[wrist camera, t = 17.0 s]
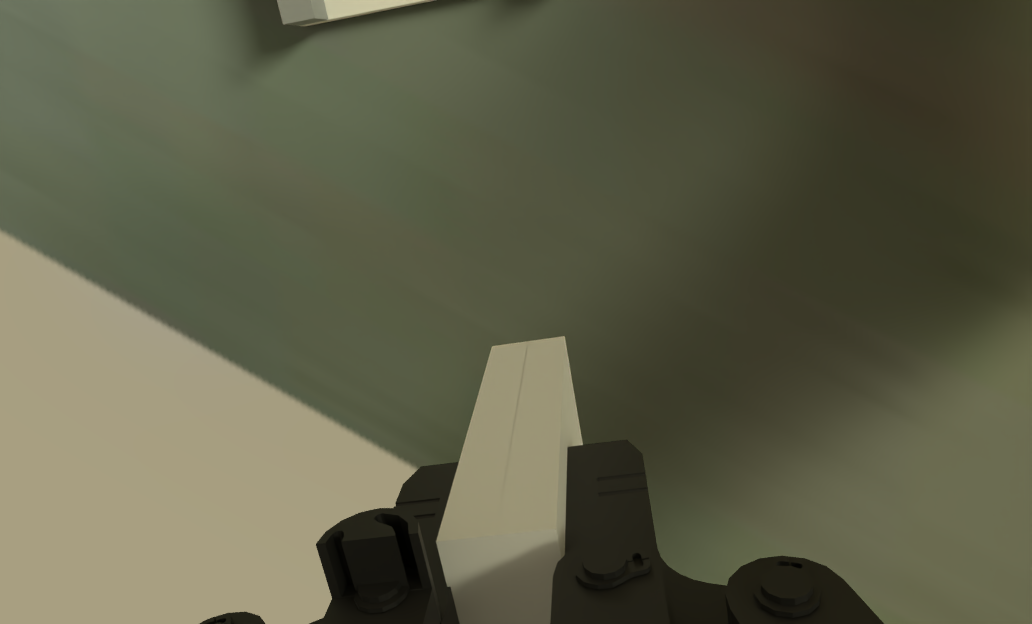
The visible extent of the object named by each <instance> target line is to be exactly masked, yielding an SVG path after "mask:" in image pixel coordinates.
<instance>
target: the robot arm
mask: <svg viewBox="0 0 1032 624" xmlns="http://www.w3.org/2000/svg"><path fill="white" fill-rule="evenodd" d="M316 546H317V550H318V553H319V556H320V559H321V563H322V566H323V570H324V573H325V576H326V579H327V582H328V586H329V589H330V593H331V596H332V600H331V603H330V605H329V607H328V609H327V612H326V614H325V616H324V618H322V619H319V620H317V621H315V622H312V623H310V624H884V623H883V622H882V621H881V620H880V619H879V618H878V617H877V615H876V614H875V613H874V612H873V611H872V610H871V609H870V608H869V607H868V606H867V605H866V603H865V602H864V601H863V600H862V599H861V598H860V597H859V596H858V595H857V594H856V593H855V591H854V590H853V589H852V588H851V587H850V586H849V585H848V584H847V583H846V582H845V581H844V579H842V578H841V577H840V576H838V575H837V574H836V573H834V572H833V571H832V570H830V569H829V568H828V567H827V566H824V565H821V564H818V563H816V562H813V561H810V560H808V559H805V558H796V557H788V556H776V557H768V558H760V559H757V560H755V561H753V562H750V563H748V564H746V565H743V566H741V567H740V568H739V569H738V570H737V571H736V572H735V573H734V574H733V575H732V576H731V577H730V578H729V581H728V584H727V586H725V585H718V584H710V583H706V582H701V581H696V580H693V579H690V578H688V577H685V576H683V575H681V574H679V573H677V572H676V571H674V570H673V569H671V568H670V567H669V566H668V565H667V564H666V563H665V562H664V561H663V559H662V558H661V557H660V554H659V551H658V549H657V544H656V538H655V531H654V525H653V519H652V513H651V506H650V500H649V494H648V488H647V481H646V476H645V469H644V463H643V456H642V453H641V452H640V451H638V450H637V449H636V448H635V447H634V446H633V445H632V444H631V443H630V442H629V441H628V440H620V441H612V442H604V443H595V444H587V445H583V443H582V437H581V431H580V425H579V419H578V413H577V407H576V401H575V395H574V389H573V383H572V377H571V371H570V365H569V359H568V353H567V347H566V341H565V336H562V337H555V338H548V339H540V340H533V341H526V342H519V343H512V344H504V345H497V346H492V348H491V352H490V355H489V359H488V362H487V366H486V369H485V373H484V376H483V380H482V383H481V387H480V390H479V394H478V397H477V401H476V404H475V408H474V411H473V415H472V418H471V422H470V425H469V429H468V432H467V435H466V439H465V442H464V446H463V449H462V453H461V456H460V460H459V462H455V463H447V464H439V465H430V466H422V467H420V468H419V469H418V470H417V471H416V472H415V473H414V474H413V475H412V476H411V477H410V478H409V479H408V480H407V481H406V482H405V483H404V484H403V486H402V488H401V491H400V493H399V496H398V498H397V501H396V507H394V508H379V509H374V510H370V511H365V512H361V513H358V514H356V515H354V516H351V517H349V518H347V519H344V520H342V521H340V522H339V523H338V524H336V525H335V526H333V527H332V528H331V529H329V530H328V531H326V532H325V534H324V535H323V536H322V537H321V539H320V540H319V541H318V542H317V544H316ZM200 624H265V623H264V621H263V620H262V619H261V617H260V616H258V615H255V614H251V613H248V612H235V613H226V614H223V615H220V616H217V617H213V618H210V619H207V620H205V621H203V622H202V623H200Z"/></svg>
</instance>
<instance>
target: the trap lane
mask: <svg viewBox="0 0 1032 624" xmlns="http://www.w3.org/2000/svg"><path fill="white" fill-rule="evenodd" d="M430 1H435V0H277V3H278V6H279V10H280V14H281V18H282V22H283V25H294V26H310V25H315V24H320V23H325V22H330V21H335V20H340V19H345V18H350V17H355V16H360V15H365V14H370V13H375V12H380V11H385V10H390V9H395V8H400V7H405V6H410V5H415V4H420V3H425V2H430Z"/></svg>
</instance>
